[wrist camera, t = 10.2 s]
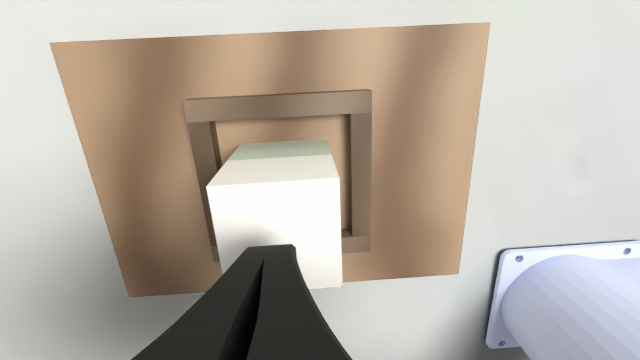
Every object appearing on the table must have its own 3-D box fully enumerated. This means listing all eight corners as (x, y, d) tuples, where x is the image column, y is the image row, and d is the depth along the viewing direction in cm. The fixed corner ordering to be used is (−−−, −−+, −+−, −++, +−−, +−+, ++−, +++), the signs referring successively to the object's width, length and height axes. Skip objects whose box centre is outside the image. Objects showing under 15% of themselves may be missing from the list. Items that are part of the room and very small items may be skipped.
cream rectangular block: (326, 138, 16) (339, 178, 10) (330, 215, 18) (342, 286, 12) (240, 143, 16) (206, 186, 10) (251, 221, 17) (226, 295, 12)
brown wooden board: (479, 25, 16) (502, 19, 14) (451, 264, 20) (466, 284, 18) (65, 44, 15) (31, 41, 13) (137, 286, 20) (120, 309, 18)
